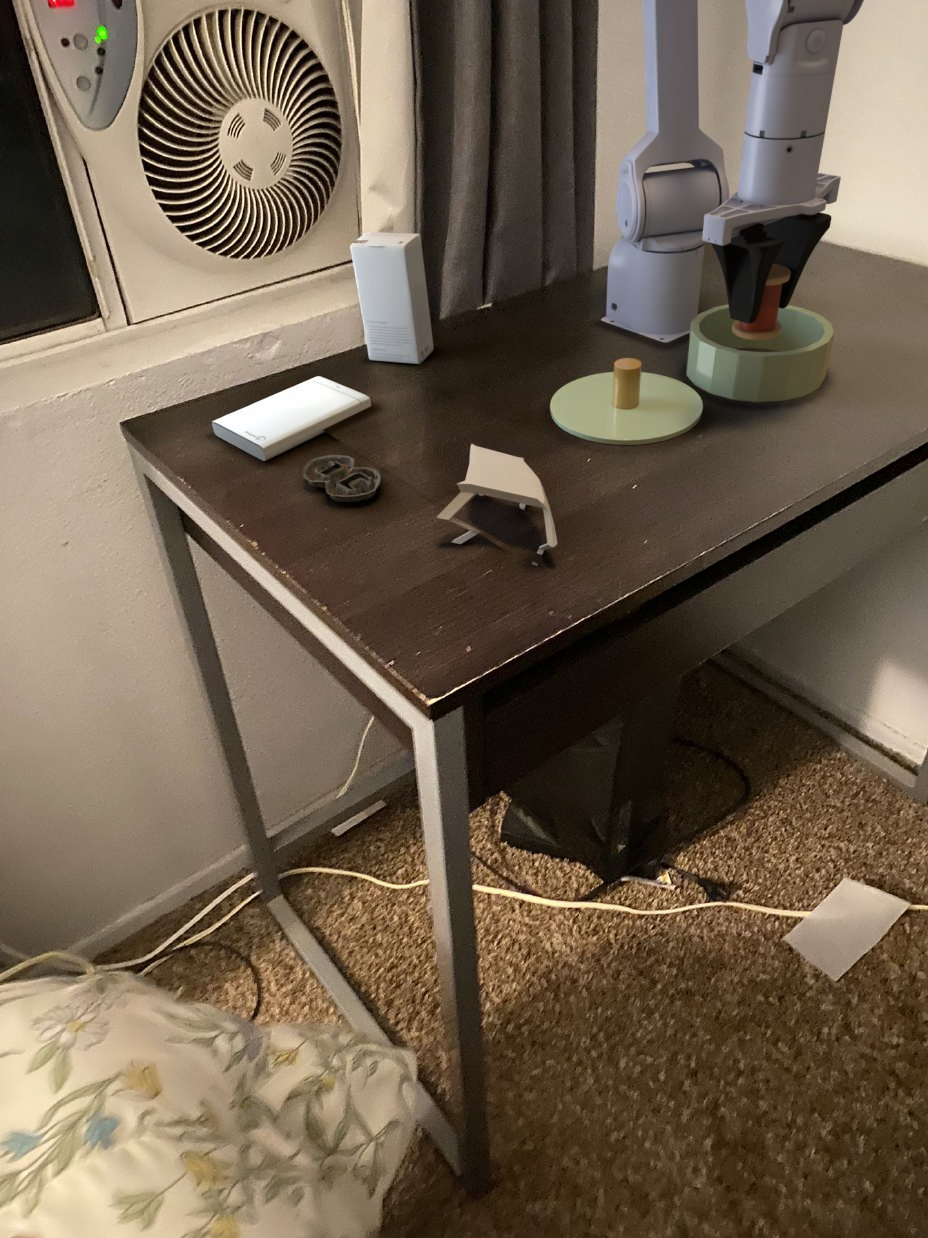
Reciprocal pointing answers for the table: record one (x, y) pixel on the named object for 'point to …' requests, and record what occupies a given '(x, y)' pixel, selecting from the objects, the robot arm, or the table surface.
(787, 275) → the spool
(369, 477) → the corroded twin loop
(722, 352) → the tin
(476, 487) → the beige angled stand
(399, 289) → the cosmetic box
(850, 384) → the table surface
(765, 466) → the table surface
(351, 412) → the hard drive
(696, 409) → the lid
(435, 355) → the table surface
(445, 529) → the table surface
